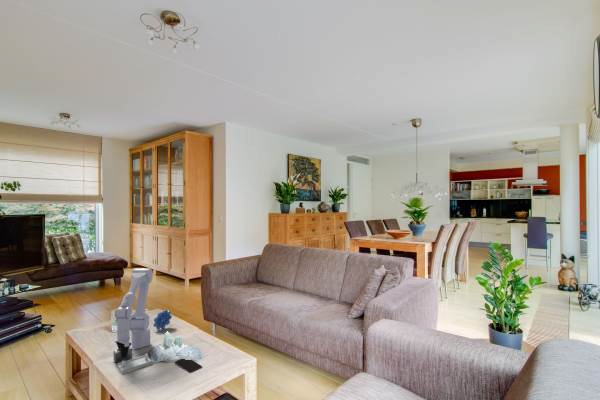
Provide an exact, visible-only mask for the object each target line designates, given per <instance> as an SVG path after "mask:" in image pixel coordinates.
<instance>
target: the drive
mask: <svg viewBox="0 0 600 400" xmlns="http://www.w3.org/2000/svg"><path fill="white" fill-rule="evenodd" d="M133 351H134V350H133V348H132V347H131V346H130V348H129V350H128V354H127V357H124V358H122V356H121V350H120V349H118V348H117V349H114V350H113V361H114V363H120V362H122V361H126V360H129V359H133Z"/></svg>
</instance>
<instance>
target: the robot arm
mask: <svg viewBox="0 0 600 400" xmlns="http://www.w3.org/2000/svg"><path fill="white" fill-rule="evenodd" d="M153 274H154V272H153V269H152V268H151V267H149V268H147V267H146V268H144V267H143V268H141V267H140V268H137V267H135V268H133V269H132V272H131V280H132V281H131V282H130V286H129V290H128V292H127V293H125V295H124V297H123V298H122V301H121V303H120V305H119V307H117V308H116V309H115V312H114V317H115V321H116V326H117V327H116V339H114V343H116V345H117V349H120V350H121V356H122V358H124V357H127V354H128V350H129V348H130V346H131V347H132V348H133V351H134V350H138V349H140V348H144V347H148V346H151V345H152V344H151V331H150V330H151V329H150V327H149V326H150V316H149V314H147V312H146V308H147V307H146V306H147V300H148V293H149V285H150V283H152V280H153ZM137 291H138V293H137ZM136 293H137V295H136ZM136 296H137V297H136ZM135 301H136V306H135V312H134V313H133V306H134V304H135ZM130 332H131V337H130ZM130 340H131V342H130Z"/></svg>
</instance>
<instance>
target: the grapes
mask: <svg viewBox="0 0 600 400" xmlns="http://www.w3.org/2000/svg"><path fill="white" fill-rule="evenodd" d="M172 317H173V316H172V313H171V311H170V310H167V309H164V310H162V311H160V312H158V313H157V316H155V318H154V319H153V327H154V328H155V329H156V330H157V331H158V330H160V329H162V330H163V329H165V328H166V326H168V325H169V324H170V322H171V321H170V320H172Z"/></svg>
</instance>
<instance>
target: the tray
mask: <svg viewBox="0 0 600 400" xmlns="http://www.w3.org/2000/svg"><path fill="white" fill-rule="evenodd" d="M150 365H153V360H151V358H150V357H149V355H148V353H145V354H144V355H140V356H137V357H135V358H130V359H126V360H122V361H120V362H117V365H116V367H117V369H118V370H119V371H120V373H121V375H124V374H126V373H129V372H132V371H136V370H138V369H142V368H145V367H149V366H150Z"/></svg>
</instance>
